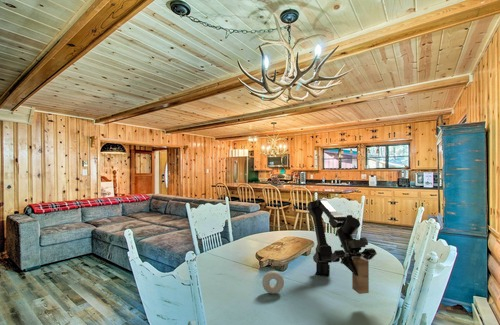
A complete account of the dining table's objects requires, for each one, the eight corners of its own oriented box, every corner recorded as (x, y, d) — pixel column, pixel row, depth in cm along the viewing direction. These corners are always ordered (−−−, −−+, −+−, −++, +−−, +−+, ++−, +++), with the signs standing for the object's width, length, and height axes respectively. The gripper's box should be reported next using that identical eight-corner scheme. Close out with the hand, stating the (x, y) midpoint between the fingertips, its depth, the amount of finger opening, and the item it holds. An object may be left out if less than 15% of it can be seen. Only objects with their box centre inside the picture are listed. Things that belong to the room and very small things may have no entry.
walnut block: (352, 288, 103) (352, 257, 103) (361, 287, 103) (361, 256, 104) (358, 293, 98) (358, 261, 99) (368, 292, 99) (368, 260, 99)
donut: (283, 291, 113) (283, 269, 114) (284, 295, 110) (284, 272, 110) (261, 291, 113) (261, 269, 113) (262, 295, 109) (262, 272, 110)
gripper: (334, 231, 104) (349, 268, 92) (373, 229, 107) (393, 265, 96) (325, 244, 111) (338, 280, 100) (362, 242, 114) (379, 276, 103)
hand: (362, 275), depth 100 cm, fingers closed on walnut block, 4 cm apart
